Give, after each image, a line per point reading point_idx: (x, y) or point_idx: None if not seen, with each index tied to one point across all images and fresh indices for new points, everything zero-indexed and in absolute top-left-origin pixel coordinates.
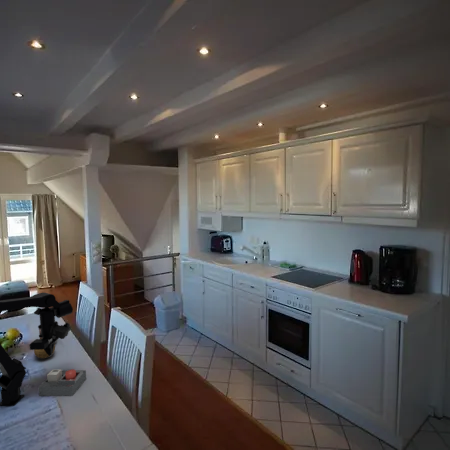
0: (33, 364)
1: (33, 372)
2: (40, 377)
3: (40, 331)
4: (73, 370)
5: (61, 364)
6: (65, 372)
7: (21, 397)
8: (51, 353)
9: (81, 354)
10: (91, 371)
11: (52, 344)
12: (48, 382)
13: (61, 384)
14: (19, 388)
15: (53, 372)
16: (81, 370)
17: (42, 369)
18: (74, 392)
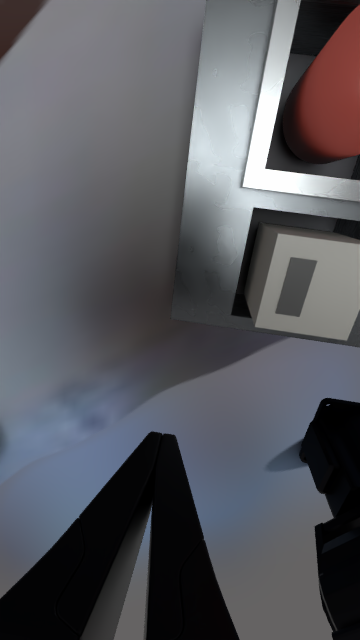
0: (24, 454)
1: (96, 431)
2: (146, 385)
3: None
4: (357, 41)
5: (9, 325)
6: (213, 216)
7: (350, 404)
8: (165, 453)
9: None
10: (89, 23)
11: (89, 629)
12: None
13: None
14: (340, 448)
15: (318, 297)
16: (205, 31)
17: (67, 403)
18: None
